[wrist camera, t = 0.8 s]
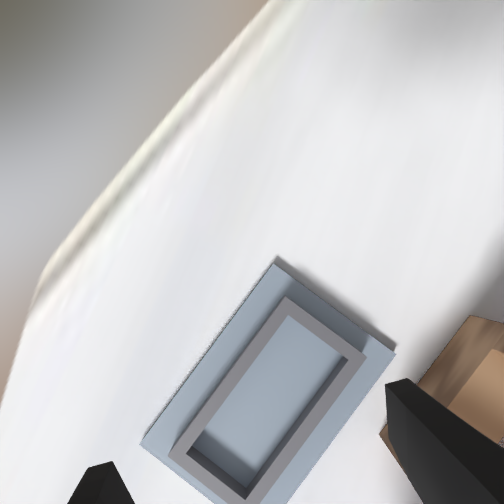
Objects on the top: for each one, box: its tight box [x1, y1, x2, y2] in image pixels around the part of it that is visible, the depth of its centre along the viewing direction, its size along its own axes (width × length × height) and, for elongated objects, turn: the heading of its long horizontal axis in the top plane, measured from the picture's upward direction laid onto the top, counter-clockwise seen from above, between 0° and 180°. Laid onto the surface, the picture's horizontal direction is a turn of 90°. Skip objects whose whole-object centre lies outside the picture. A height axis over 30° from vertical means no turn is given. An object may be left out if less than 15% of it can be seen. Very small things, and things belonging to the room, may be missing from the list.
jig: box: [139, 263, 396, 504], centre depth 29 cm, size 12×18×2 cm, turn 144°
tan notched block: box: [379, 315, 504, 474], centre depth 26 cm, size 12×4×6 cm, turn 143°
